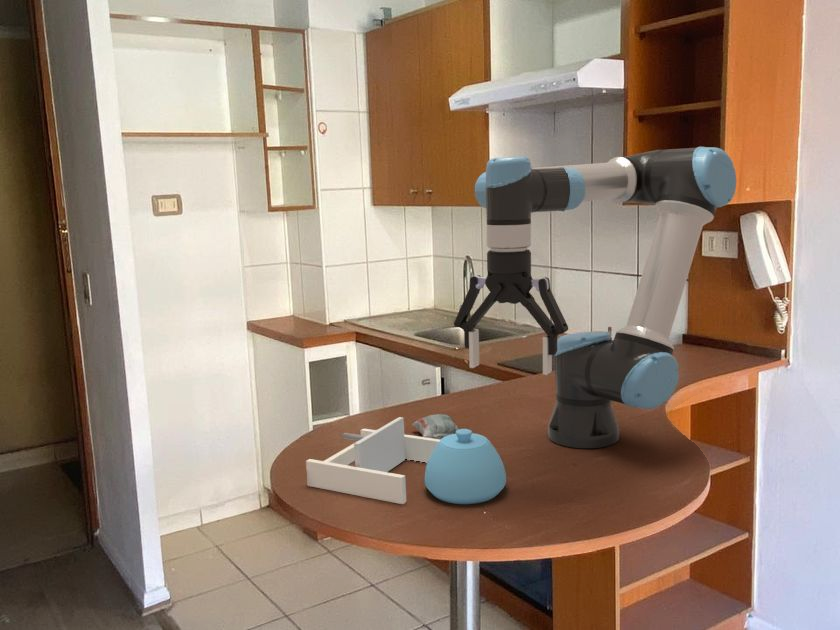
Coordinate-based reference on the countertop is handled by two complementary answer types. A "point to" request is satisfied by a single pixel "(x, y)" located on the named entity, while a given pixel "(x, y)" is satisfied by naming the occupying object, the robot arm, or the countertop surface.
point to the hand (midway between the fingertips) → (510, 369)
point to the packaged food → (436, 426)
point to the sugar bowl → (465, 469)
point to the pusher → (380, 447)
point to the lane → (367, 472)
